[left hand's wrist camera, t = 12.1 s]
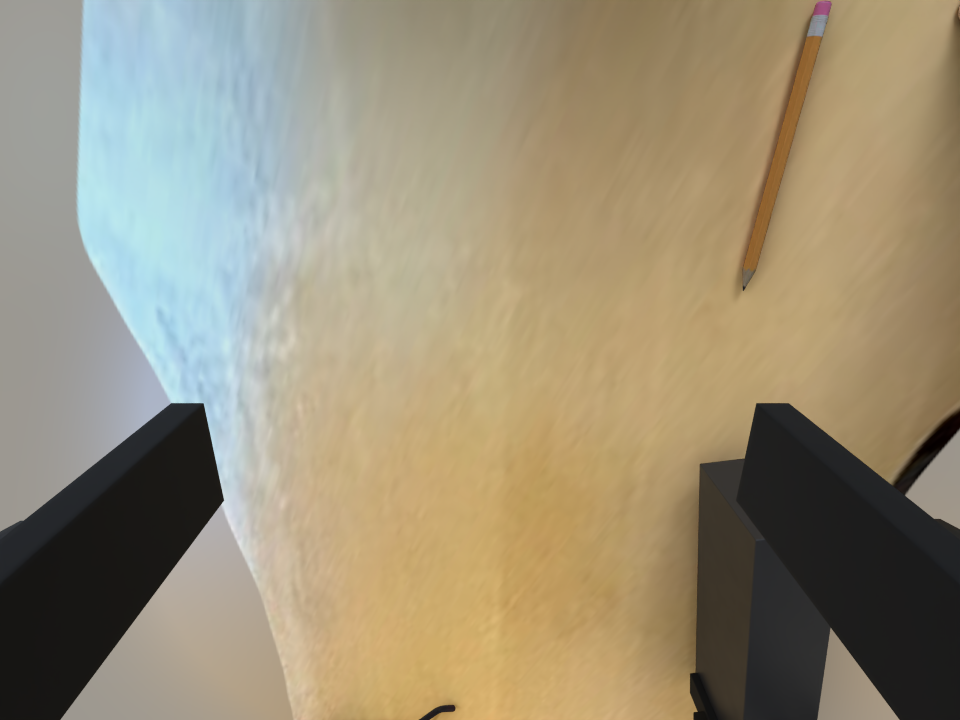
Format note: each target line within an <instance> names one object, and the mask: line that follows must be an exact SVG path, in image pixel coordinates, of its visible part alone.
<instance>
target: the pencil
mask: <svg viewBox="0 0 960 720" xmlns="http://www.w3.org/2000/svg"><path fill="white" fill-rule="evenodd" d="M830 8H831V2H830V1H820V2H818V3H817V4H816V5H815V9H814V13H813V16H812V19H811V22H810V27H809V30H808V34H807V38H806V42H805V45H804V49H803V53H802V56H801V60H800V64H799V67H798V71H797V74H796V78H795V82H794V85H793V89H792V93H791V96H790V100H789V103H788V107H787V111H786V114H785V118H784V121H783V125H782V129H781V132H780V136H779V140H778V143H777V147H776V150H775V154H774V158H773V161H772V165H771V169H770V172H769V176H768V179H767V183H766V187H765V190H764V194H763V197H762V201H761V205H760V208H759V212H758V216H757V219H756V223H755V226H754V230H753V234H752V237H751V241H750V244H749V248H748V252H747V255H746V259H745V263H744V266H743V291H744V289H745V288H746V286H747V284H748V283H749V281H750V279H751V278H752V276H753V274H754V272H755V270H756V267H757V263H758V260H759V256H760V253H761V249H762V246H763V242H764V239H765V235H766V232H767V228H768V225H769V221H770V218H771V214H772V211H773V207H774V204H775V200H776V197H777V193H778V190H779V186H780V183H781V179H782V176H783V172H784V169H785V165H786V162H787V158H788V155H789V151H790V148H791V144H792V141H793V137H794V134H795V130H796V127H797V123H798V120H799V116H800V113H801V109H802V106H803V102H804V99H805V95H806V92H807V88H808V85H809V81H810V78H811V74H812V71H813V67H814V64H815V60H816V57H817V53H818V50H819V46H820V43H821V39H822V37H823V34H824V29H825V26H826V24H827V20H828V15H829V12H830Z"/></svg>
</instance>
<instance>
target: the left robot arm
mask: <svg viewBox="0 0 960 720" xmlns="http://www.w3.org/2000/svg"><path fill="white" fill-rule="evenodd" d="M223 501H224V498H223V494H222V489H221V484H220V479H219V475H218V470H217V465H216V460H215V456H214V451H213V446H212V441H211V436H210V432H209V427H208V422H207V417H206V413H205V408H204V403H171V404H170V405H169V406H167V407H166V408H165V409H164V410H162V411H161V412H160V413H159V414H157V415H156V416H155V417H154V418H152V419H151V420H150V421H148V422H147V423H146V424H145V425H143V426H142V427H141V428H140V429H139V430H137V431H136V432H135V433H133V434H132V435H131V436H130V437H128V438H127V439H126V440H125V441H123V442H122V443H121V444H120V445H118V446H117V447H116V448H115V449H113V450H112V451H111V452H110V453H108V454H107V455H106V456H105V457H103V458H102V459H101V460H100V461H98V462H97V463H96V464H94V465H93V466H92V467H91V468H89V469H88V470H87V471H86V472H84V473H83V474H82V475H81V476H79V477H78V478H77V479H76V480H74V481H73V482H72V483H71V484H69V485H68V486H67V487H66V488H64V489H63V490H62V491H61V492H59V493H58V494H57V495H56V496H54V497H53V498H52V499H50V500H49V501H48V502H47V503H46V504H44V505H43V506H42V507H40V508H39V509H38V510H37V511H35V512H34V513H33V514H32V515H30V516H29V517H28V518H27V519H25V520H24V521H19V522H17V523H16V524H14V525H12V526H10V527H8V528H6V529H4V530H2V531H1V532H0V720H60V719H61V718H62V717H63V715H64V714H65V713H66V711H67V710H68V709H69V707H70V706H71V705H72V703H73V702H74V701H75V699H76V698H77V697H78V695H79V694H80V693H81V691H82V690H83V689H84V687H85V686H86V685H87V683H88V682H89V681H90V679H91V678H92V677H93V675H94V674H95V673H96V671H97V670H98V669H99V667H100V666H101V665H102V663H103V662H104V660H105V659H106V658H107V656H108V655H109V654H110V652H111V651H112V650H113V648H114V647H115V646H116V644H117V643H118V642H119V640H120V639H121V638H122V636H123V635H124V634H125V632H126V631H127V630H128V628H129V627H130V626H131V624H132V623H133V622H134V620H135V619H136V618H137V616H138V615H139V614H140V612H141V611H142V610H143V608H144V607H145V606H146V604H147V603H148V602H149V600H150V599H151V597H152V596H153V595H154V593H155V592H156V591H157V589H158V588H159V587H160V585H161V584H162V583H163V581H164V580H165V579H166V577H167V576H168V575H169V573H170V572H171V571H172V569H173V568H174V567H175V565H176V564H177V563H178V561H179V560H180V559H181V557H182V556H183V555H184V553H185V552H186V551H187V549H188V548H189V547H190V545H191V544H192V543H193V541H194V540H195V539H196V537H197V536H198V535H199V533H200V532H201V530H202V529H203V528H204V527H205V525H206V524H207V523H208V521H209V520H210V518H211V517H212V516H213V514H214V513H215V512H216V510H217V509H218V508H219V506H220V505H221V504H222V502H223ZM736 501H737V502H738V504H739V505H740V506H741V508H742V509H743V510H744V512H745V513H746V515H747V516H748V517H749V519H750V520H751V521H752V523H753V524H754V525H755V527H756V528H757V529H758V531H759V532H760V533H761V535H762V536H763V537H764V539H765V540H766V541H767V543H768V544H769V545H770V547H771V548H772V549H773V551H774V552H775V553H776V555H777V556H778V557H779V559H780V560H781V561H782V563H783V564H784V565H785V567H786V568H787V569H788V571H789V572H790V573H791V575H792V576H793V577H794V579H795V580H796V581H797V583H798V584H799V585H800V587H801V588H802V590H803V591H804V592H805V594H806V595H807V596H808V598H809V599H810V600H811V602H812V603H813V604H814V606H815V607H816V608H817V610H818V611H819V612H820V614H821V615H822V616H823V618H824V619H825V620H826V622H827V623H828V624H829V626H830V627H831V628H832V630H833V631H834V632H835V634H836V635H837V636H838V638H839V639H840V640H841V642H842V643H843V644H844V646H845V647H846V648H847V650H848V651H849V652H850V654H851V655H852V656H853V658H854V659H855V660H856V662H857V663H858V665H859V666H860V667H861V669H862V670H863V671H864V673H865V674H866V675H867V677H868V678H869V679H870V681H871V682H872V683H873V685H874V686H875V687H876V689H877V690H878V691H879V693H880V694H881V695H882V697H883V698H884V699H885V701H886V702H887V703H888V705H889V706H890V707H891V709H892V710H893V711H894V713H895V714H896V715H897V717H898V718H899V719H900V720H960V529H958V528H956V527H954V526H952V525H950V524H949V523H947V522H945V521H943V520H941V519H933V518H932V517H931V516H930V515H928V514H927V513H926V512H925V511H923V510H922V509H921V508H920V507H918V506H917V505H916V504H915V503H913V502H912V501H911V500H909V499H908V498H907V497H906V496H904V495H903V494H902V493H901V492H899V491H898V490H897V489H896V488H894V487H893V486H892V485H891V484H889V483H888V482H887V481H886V480H884V479H883V478H882V477H881V476H879V475H878V474H877V473H876V472H874V471H873V470H872V469H871V468H869V467H868V466H867V465H866V464H864V463H863V462H862V461H861V460H859V459H858V458H857V457H855V456H854V455H853V454H852V453H850V452H849V451H848V450H847V449H845V448H844V447H843V446H842V445H840V444H839V443H838V442H837V441H835V440H834V439H833V438H832V437H830V436H829V435H828V434H827V433H825V432H824V431H823V430H822V429H820V428H819V427H818V426H817V425H815V424H814V423H813V422H812V421H810V420H809V419H808V418H807V417H805V416H804V415H803V414H801V413H800V412H799V411H798V410H796V409H795V408H794V407H793V406H791V405H790V404H789V403H756V408H755V413H754V417H753V422H752V427H751V432H750V436H749V441H748V446H747V451H746V456H745V460H744V465H743V470H742V475H741V479H740V484H739V489H738V494H737V498H736Z"/></svg>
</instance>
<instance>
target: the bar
mask: <svg viewBox="0 0 960 720" xmlns="http://www.w3.org/2000/svg"><path fill="white" fill-rule="evenodd" d="M744 460H745V459H737V460H729V461H720V462H712V463H703V464H700V483H699V532H698V582H697V631H696V673H698V675H699V677H700V679H701V681H702V684H703V686H704V688H705V691H706V693H707V695H708V698H709V700H710V702H711V705H712V707H713V709H714V712H715V714H716V716H717V719H718V720H817V717H818V710H819V703H820V696H821V689H822V682H823V676H824V669H825V662H826V655H827V648H828V641H829V634H830V626H829V624H828V623H827V622H826V620H825V619H824V618H823V616H822V615H821V614H820V612H819V611H818V610H817V608H816V607H815V606H814V604H813V603H812V602H811V600H810V599H809V598H808V596H807V595H806V594H805V592H804V591H803V590H802V588H801V587H800V585H799V584H798V583H797V581H796V580H795V579H794V577H793V576H792V575H791V573H790V572H789V571H788V569H787V568H786V567H785V565H784V564H783V563H782V561H781V560H780V559H779V557H778V556H777V555H776V553H775V552H774V551H773V549H772V548H771V547H770V545H769V544H768V543H767V541H766V540H765V539H764V537H763V536H762V535H761V533H760V532H759V531H758V529H757V528H756V527H755V525H754V524H753V523H752V521H751V520H750V519H749V517H748V516H747V515H746V513H745V512H744V510H743V509H742V508H741V506H740V505H739V504H738V502H737V501H736V498H737V494H738V489H739V484H740V479H741V475H742V470H743V465H744Z"/></svg>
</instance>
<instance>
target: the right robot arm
mask: <svg viewBox="0 0 960 720" xmlns="http://www.w3.org/2000/svg"><path fill="white" fill-rule="evenodd" d="M690 694H691V696H692V699H693V701H694V704H695V706H696V709H697V711H698V712H694V720H718V719H717V716H716V714H715V712H714V709H713V707H712V705H711V702H710V700H709V698H708V695H707V693H706V691H705V688H704V686H703V684H702V681H701V679H700V677H699V675H698V673H690Z"/></svg>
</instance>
